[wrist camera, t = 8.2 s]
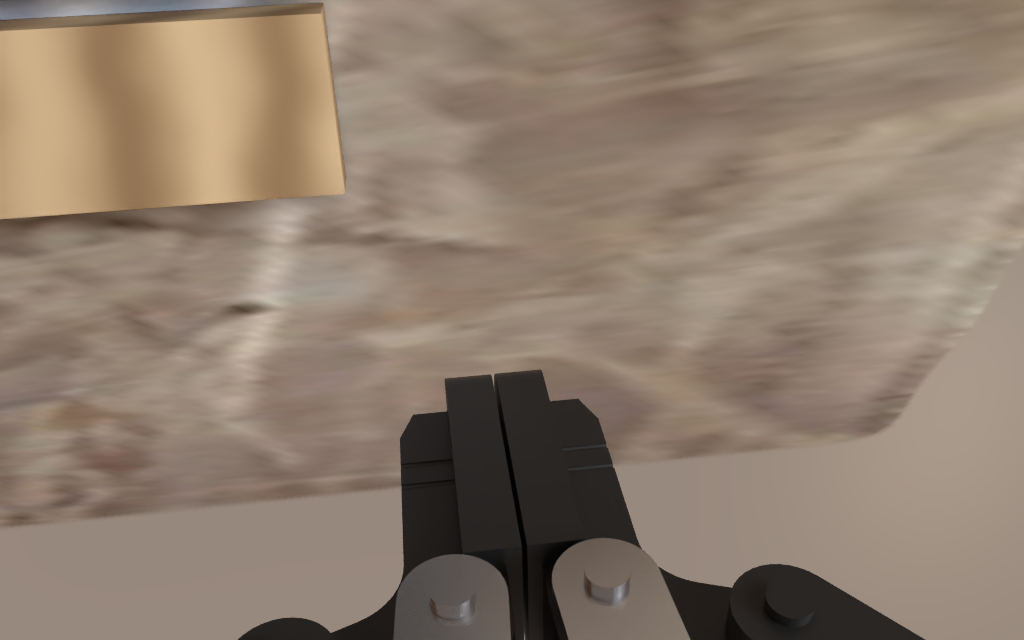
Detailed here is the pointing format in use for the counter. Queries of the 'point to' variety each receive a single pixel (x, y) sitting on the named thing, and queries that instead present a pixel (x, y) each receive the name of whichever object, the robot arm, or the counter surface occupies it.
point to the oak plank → (166, 110)
